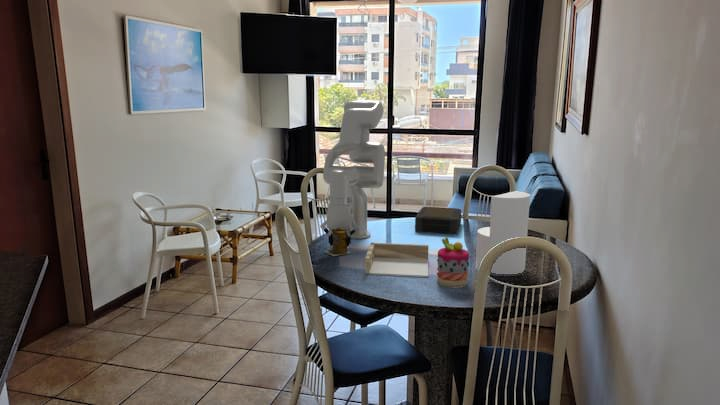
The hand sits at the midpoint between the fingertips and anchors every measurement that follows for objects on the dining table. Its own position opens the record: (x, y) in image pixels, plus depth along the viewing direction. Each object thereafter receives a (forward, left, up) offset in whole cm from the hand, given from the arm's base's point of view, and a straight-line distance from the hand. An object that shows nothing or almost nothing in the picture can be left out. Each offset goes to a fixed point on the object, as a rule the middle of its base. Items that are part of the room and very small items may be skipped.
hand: (339, 244), depth 204 cm
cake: (+28, +43, -4) cm, 51 cm away
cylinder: (+11, +61, -4) cm, 62 cm away
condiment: (0, -1, -3) cm, 3 cm away
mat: (+14, +24, -4) cm, 28 cm away
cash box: (-51, +40, -4) cm, 65 cm away
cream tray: (+14, +24, -4) cm, 28 cm away
